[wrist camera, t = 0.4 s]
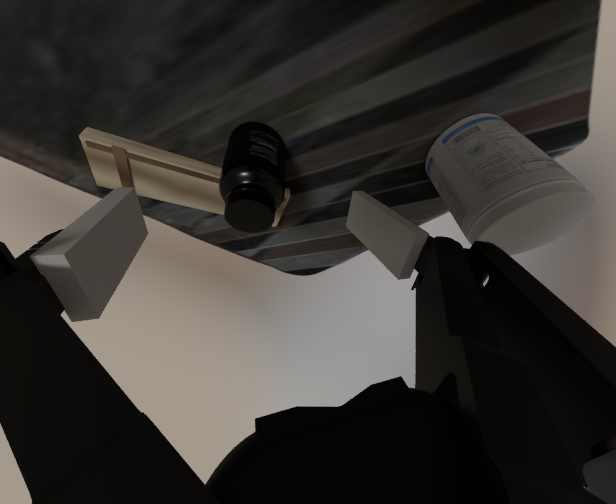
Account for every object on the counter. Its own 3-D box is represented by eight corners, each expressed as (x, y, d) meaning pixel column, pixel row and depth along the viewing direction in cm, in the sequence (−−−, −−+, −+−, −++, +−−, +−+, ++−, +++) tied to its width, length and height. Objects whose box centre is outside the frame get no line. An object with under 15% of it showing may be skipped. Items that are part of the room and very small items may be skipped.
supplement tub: (466, 180, 35) (525, 260, 26) (410, 176, 33) (452, 258, 25) (523, 113, 27) (632, 196, 19) (452, 103, 26) (535, 188, 17)
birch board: (87, 127, 25) (77, 136, 24) (290, 188, 34) (290, 198, 33) (103, 176, 30) (96, 186, 29) (276, 219, 39) (275, 228, 38)
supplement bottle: (216, 138, 27) (194, 209, 20) (262, 107, 25) (254, 175, 18) (254, 179, 32) (246, 247, 25) (294, 156, 30) (298, 224, 23)
